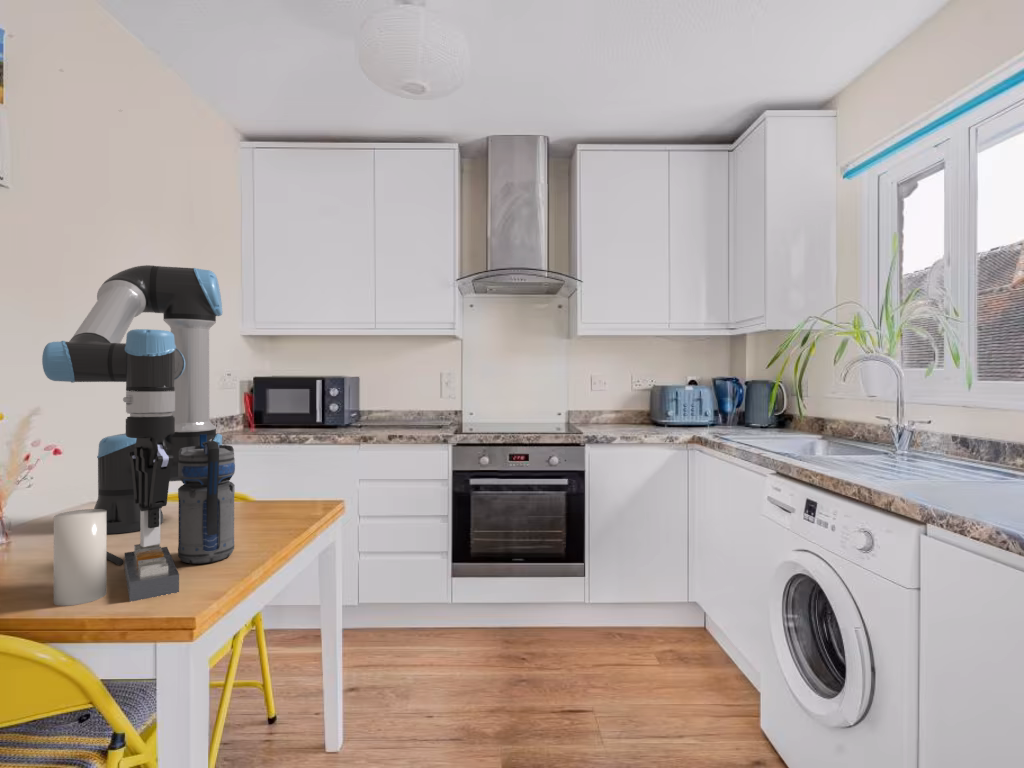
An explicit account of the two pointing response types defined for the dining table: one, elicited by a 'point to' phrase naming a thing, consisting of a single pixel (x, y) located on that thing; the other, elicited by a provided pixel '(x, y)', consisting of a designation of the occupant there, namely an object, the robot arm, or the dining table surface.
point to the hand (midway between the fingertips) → (150, 544)
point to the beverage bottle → (206, 502)
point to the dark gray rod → (114, 558)
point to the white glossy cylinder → (80, 556)
